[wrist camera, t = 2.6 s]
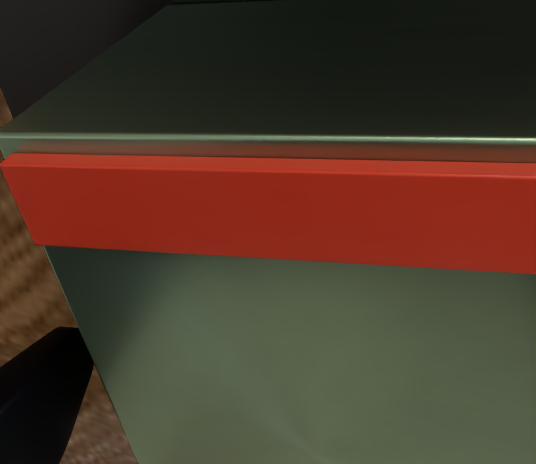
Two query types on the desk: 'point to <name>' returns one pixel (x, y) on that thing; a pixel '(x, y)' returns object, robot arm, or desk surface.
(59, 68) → the black square platform
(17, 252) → the desk surface
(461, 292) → the box
